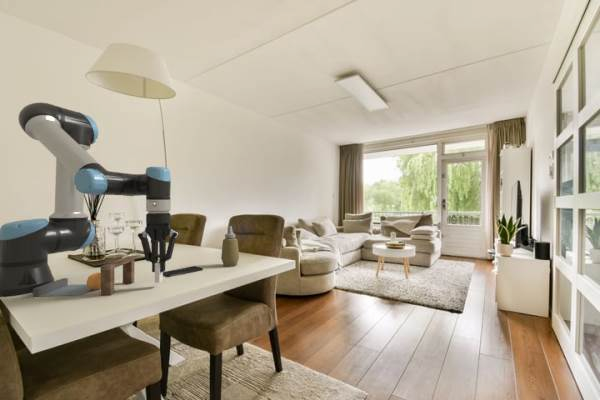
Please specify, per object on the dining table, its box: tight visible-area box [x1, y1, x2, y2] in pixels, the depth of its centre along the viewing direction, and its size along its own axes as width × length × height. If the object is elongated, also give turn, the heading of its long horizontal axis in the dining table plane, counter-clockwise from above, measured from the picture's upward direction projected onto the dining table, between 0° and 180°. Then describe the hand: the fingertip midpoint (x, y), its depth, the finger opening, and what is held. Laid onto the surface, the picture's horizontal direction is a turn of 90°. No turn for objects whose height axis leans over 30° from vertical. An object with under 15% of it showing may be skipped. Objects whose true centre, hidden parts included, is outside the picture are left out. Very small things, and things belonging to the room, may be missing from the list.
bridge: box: [100, 256, 135, 297], centre depth 94 cm, size 3×14×9 cm, turn 5°
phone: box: [163, 265, 204, 278], centre depth 116 cm, size 8×1×15 cm
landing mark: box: [39, 283, 93, 298], centre depth 92 cm, size 12×12×1 cm
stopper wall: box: [32, 277, 69, 298], centre depth 92 cm, size 2×12×2 cm, turn 5°
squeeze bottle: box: [220, 225, 240, 267], centre depth 127 cm, size 8×8×18 cm
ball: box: [86, 272, 101, 291], centre depth 93 cm, size 6×6×6 cm
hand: (158, 281), depth 95 cm, fingers closed
